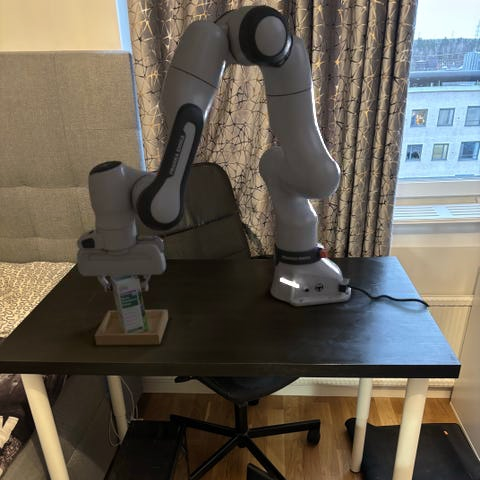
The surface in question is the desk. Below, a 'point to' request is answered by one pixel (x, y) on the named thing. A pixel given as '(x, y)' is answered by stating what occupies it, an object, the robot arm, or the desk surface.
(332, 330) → the desk surface
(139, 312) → the syrup box
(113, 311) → the tray
